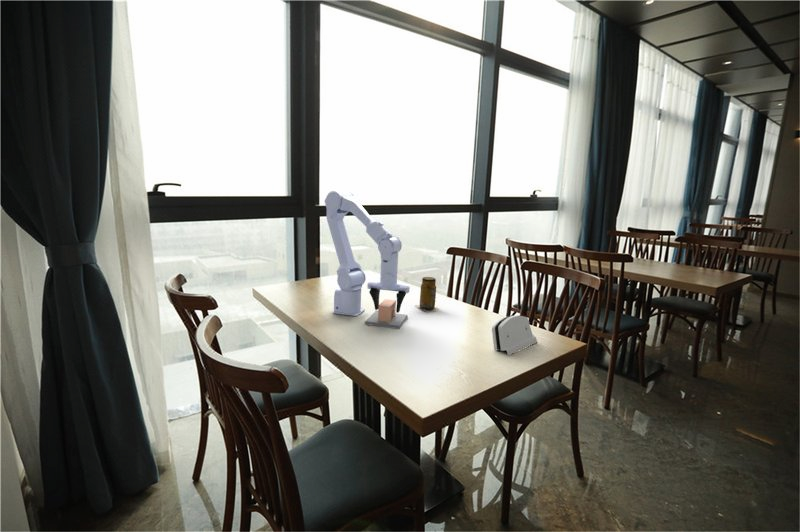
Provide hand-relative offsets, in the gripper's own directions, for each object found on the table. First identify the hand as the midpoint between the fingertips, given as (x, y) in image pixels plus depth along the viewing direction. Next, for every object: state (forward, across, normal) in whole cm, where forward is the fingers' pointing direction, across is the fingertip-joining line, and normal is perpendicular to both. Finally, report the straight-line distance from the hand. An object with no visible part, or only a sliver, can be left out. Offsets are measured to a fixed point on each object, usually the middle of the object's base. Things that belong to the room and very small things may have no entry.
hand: (387, 310), depth 132 cm
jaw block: (+3, 0, 0) cm, 3 cm away
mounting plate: (+4, 0, 0) cm, 4 cm away
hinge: (+4, +42, -7) cm, 43 cm away
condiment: (+4, +11, +20) cm, 23 cm away
